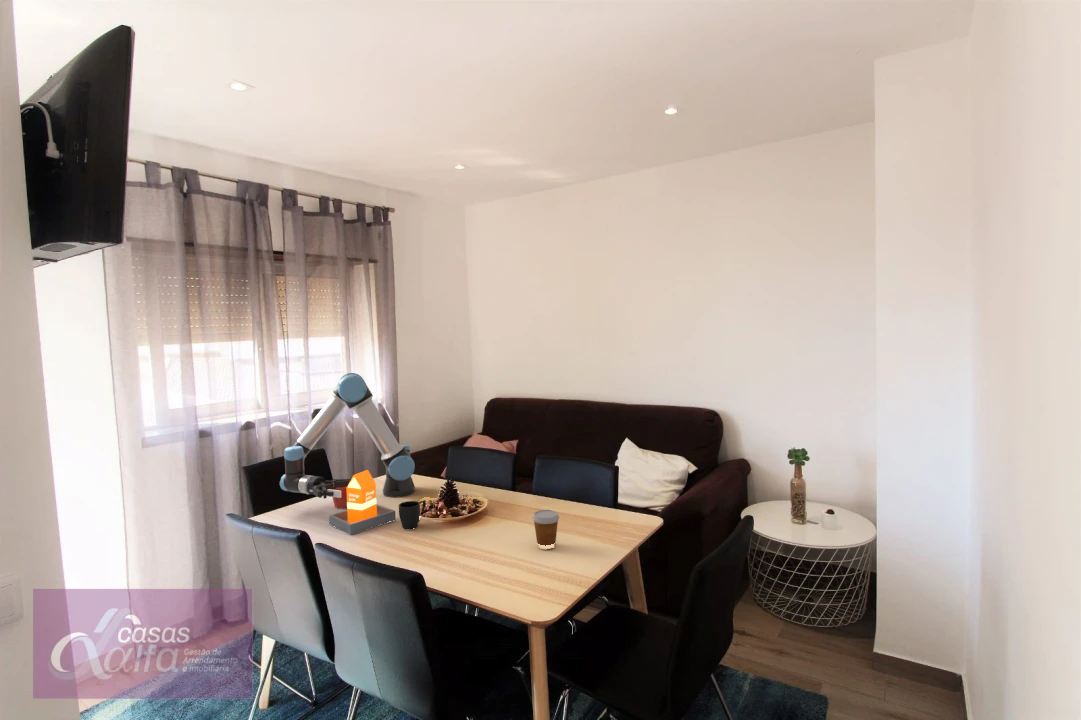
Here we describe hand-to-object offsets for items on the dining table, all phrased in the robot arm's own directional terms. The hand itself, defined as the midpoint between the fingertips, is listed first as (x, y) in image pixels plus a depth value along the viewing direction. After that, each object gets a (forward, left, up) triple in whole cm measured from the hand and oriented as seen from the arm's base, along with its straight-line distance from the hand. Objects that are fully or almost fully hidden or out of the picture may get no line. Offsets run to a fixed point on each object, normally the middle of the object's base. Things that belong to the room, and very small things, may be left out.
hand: (352, 489), depth 216 cm
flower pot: (-8, -23, -14) cm, 28 cm away
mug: (-13, +24, -14) cm, 31 cm away
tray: (-2, +4, -14) cm, 14 cm away
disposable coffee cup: (-31, +79, -14) cm, 86 cm away
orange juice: (-2, +4, -13) cm, 14 cm away
